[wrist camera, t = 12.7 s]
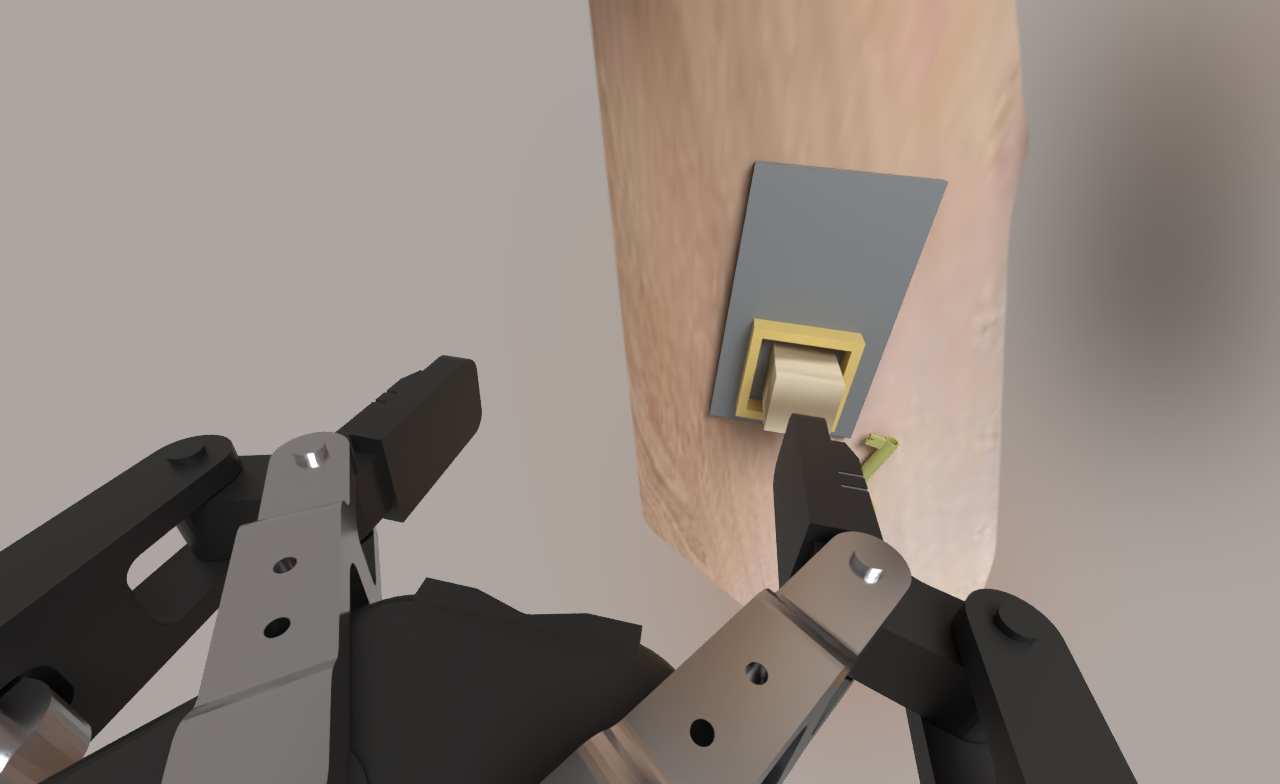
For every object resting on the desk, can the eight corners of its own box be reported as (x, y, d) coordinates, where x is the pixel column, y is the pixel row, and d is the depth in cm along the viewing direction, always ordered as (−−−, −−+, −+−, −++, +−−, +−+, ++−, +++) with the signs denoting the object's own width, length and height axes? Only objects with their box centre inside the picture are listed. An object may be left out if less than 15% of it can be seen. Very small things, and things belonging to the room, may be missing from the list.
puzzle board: (755, 160, 36) (755, 165, 33) (943, 179, 34) (958, 186, 32) (710, 409, 47) (708, 426, 45) (848, 432, 46) (854, 451, 43)
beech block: (773, 342, 41) (776, 376, 36) (833, 350, 41) (845, 386, 36) (761, 391, 44) (763, 430, 39) (818, 400, 43) (827, 440, 38)
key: (897, 426, 45) (903, 440, 43) (868, 521, 51) (872, 537, 50) (815, 419, 46) (818, 432, 44) (797, 513, 53) (798, 528, 51)
